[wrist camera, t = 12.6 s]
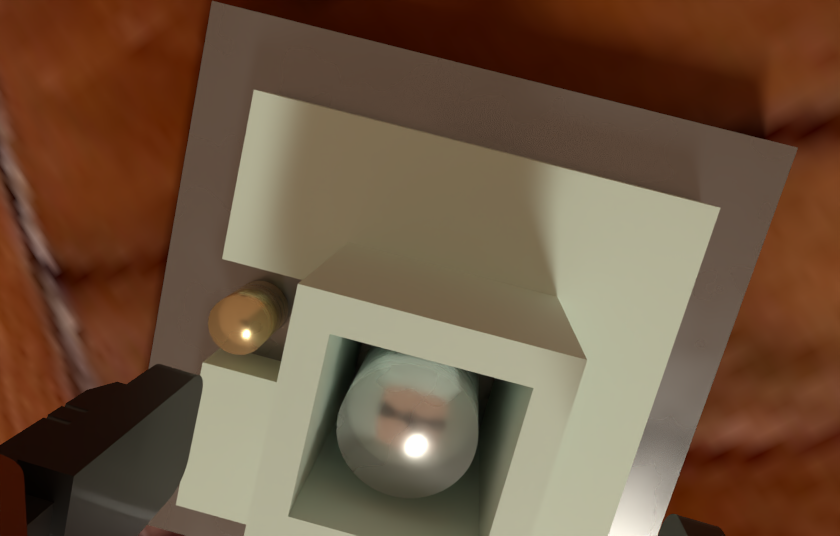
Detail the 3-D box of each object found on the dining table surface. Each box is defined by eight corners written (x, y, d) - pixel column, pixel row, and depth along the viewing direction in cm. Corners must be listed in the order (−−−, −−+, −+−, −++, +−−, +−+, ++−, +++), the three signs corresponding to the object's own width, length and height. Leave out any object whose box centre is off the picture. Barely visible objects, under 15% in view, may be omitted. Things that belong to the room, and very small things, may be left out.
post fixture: (766, 146, 20) (936, 154, 12) (602, 611, 23) (658, 834, 16) (237, 13, 20) (100, -55, 13) (152, 485, 24) (4, 644, 16)
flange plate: (700, 201, 18) (819, 238, 12) (572, 583, 21) (613, 781, 14) (271, 93, 19) (163, 71, 12) (197, 479, 21) (74, 627, 15)
